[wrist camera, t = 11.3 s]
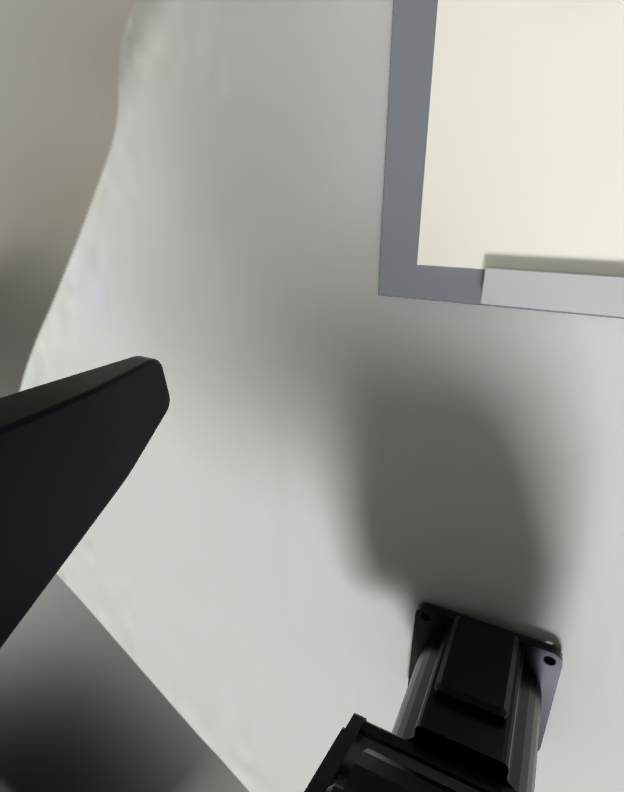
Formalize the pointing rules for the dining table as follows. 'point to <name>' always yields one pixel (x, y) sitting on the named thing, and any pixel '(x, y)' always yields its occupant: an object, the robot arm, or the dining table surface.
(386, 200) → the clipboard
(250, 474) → the dining table surface
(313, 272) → the dining table surface
